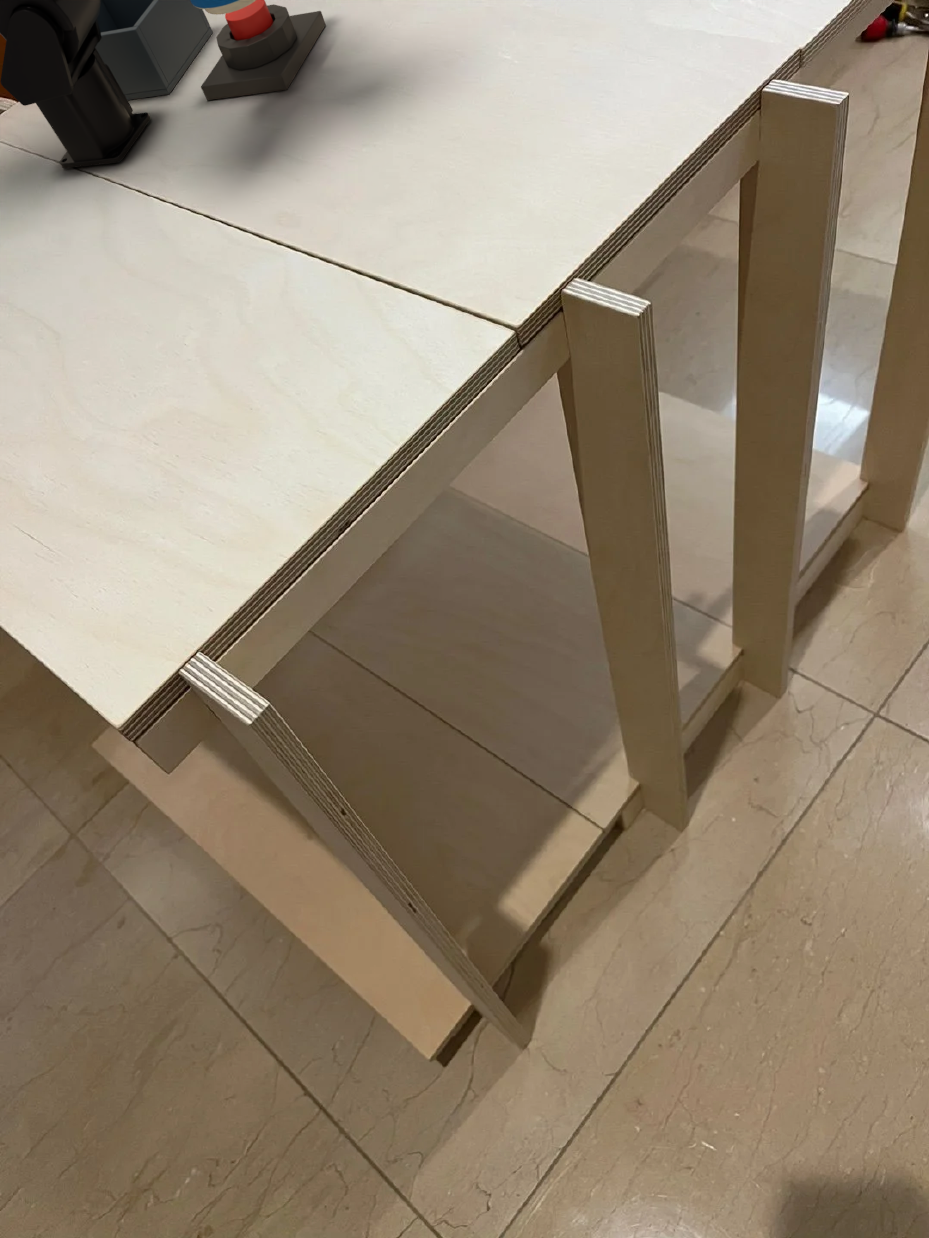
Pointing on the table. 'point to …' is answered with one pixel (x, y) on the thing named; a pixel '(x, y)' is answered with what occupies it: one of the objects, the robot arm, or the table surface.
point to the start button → (249, 20)
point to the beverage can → (221, 5)
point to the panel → (263, 56)
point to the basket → (150, 43)
